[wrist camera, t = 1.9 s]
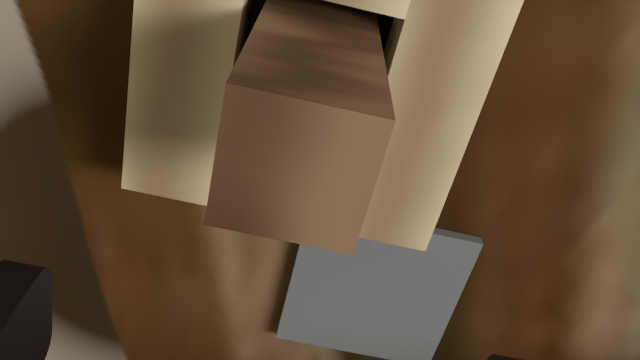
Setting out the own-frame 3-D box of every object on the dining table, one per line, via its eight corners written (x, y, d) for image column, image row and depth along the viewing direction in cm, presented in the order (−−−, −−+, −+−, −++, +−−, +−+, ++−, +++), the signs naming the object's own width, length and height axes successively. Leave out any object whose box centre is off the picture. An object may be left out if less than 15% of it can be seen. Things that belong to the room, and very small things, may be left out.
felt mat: (481, 237, 30) (483, 244, 30) (426, 359, 35) (428, 366, 34) (310, 201, 30) (309, 207, 29) (276, 330, 34) (275, 337, 34)
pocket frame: (527, -78, 23) (550, -67, 20) (418, 215, 30) (425, 251, 27) (168, -170, 22) (145, -171, 19) (141, 156, 29) (121, 188, 26)
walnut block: (376, 14, 25) (396, 121, 16) (350, 110, 27) (353, 255, 18) (271, -11, 25) (226, 82, 15) (253, 88, 27) (203, 224, 17)
